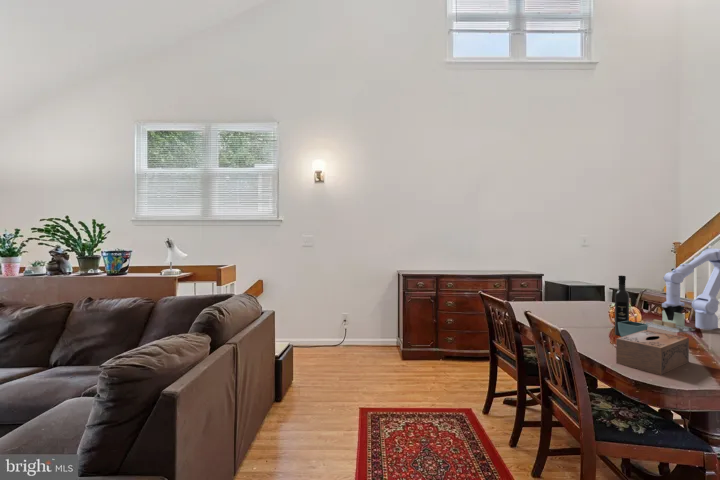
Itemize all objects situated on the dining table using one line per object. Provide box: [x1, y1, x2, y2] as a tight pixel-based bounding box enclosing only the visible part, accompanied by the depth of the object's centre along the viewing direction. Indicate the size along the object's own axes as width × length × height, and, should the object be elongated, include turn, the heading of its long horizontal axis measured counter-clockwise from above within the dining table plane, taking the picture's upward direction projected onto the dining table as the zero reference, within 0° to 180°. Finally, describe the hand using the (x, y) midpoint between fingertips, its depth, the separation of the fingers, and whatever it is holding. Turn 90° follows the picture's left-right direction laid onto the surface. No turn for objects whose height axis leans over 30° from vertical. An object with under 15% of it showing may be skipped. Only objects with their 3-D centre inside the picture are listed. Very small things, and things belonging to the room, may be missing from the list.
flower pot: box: [618, 320, 648, 337], centre depth 173 cm, size 9×9×9 cm
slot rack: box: [645, 321, 694, 333], centre depth 196 cm, size 15×16×2 cm
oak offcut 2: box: [664, 322, 676, 328], centre depth 193 cm, size 2×4×4 cm, turn 18°
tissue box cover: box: [615, 329, 690, 375], centre depth 145 cm, size 26×14×10 cm, turn 121°
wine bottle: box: [614, 275, 630, 336], centre depth 186 cm, size 6×6×30 cm
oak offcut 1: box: [652, 319, 664, 326], centre depth 198 cm, size 2×4×4 cm, turn 18°
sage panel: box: [661, 310, 686, 327], centre depth 197 cm, size 1×10×8 cm, turn 17°
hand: (673, 319), depth 197 cm, fingers open, 4 cm apart
